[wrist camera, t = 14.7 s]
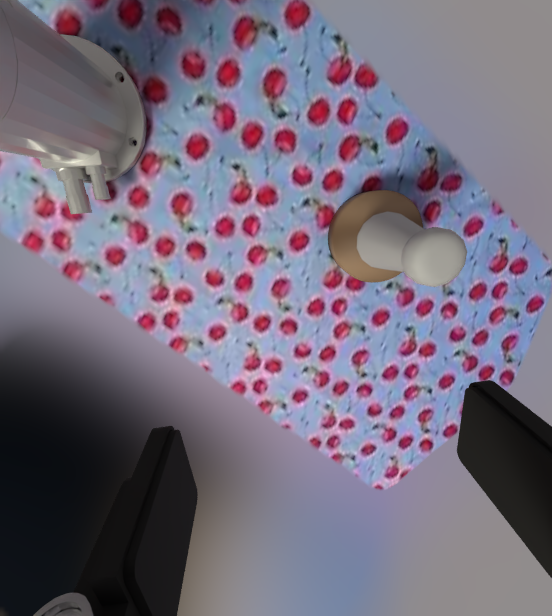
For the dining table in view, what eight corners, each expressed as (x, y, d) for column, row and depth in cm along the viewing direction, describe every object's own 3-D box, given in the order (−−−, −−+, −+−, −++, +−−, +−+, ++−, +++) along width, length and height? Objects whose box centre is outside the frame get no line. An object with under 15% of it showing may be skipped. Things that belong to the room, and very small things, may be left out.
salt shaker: (384, 199, 32) (460, 198, 20) (412, 240, 34) (498, 263, 21) (340, 235, 33) (386, 257, 21) (369, 274, 35) (428, 314, 23)
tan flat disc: (406, 273, 38) (418, 279, 35) (328, 279, 38) (333, 285, 35) (414, 188, 35) (427, 187, 32) (327, 193, 34) (333, 193, 32)
